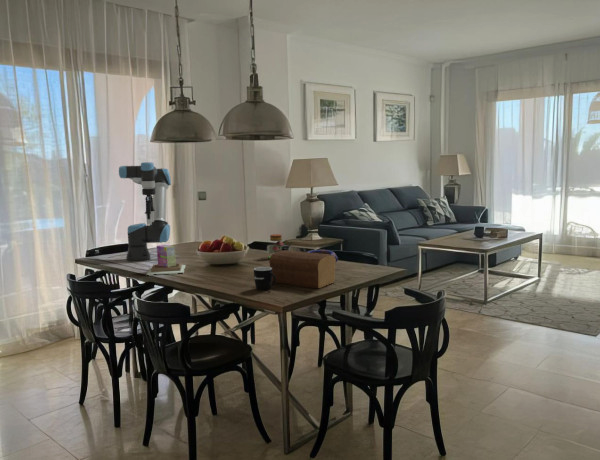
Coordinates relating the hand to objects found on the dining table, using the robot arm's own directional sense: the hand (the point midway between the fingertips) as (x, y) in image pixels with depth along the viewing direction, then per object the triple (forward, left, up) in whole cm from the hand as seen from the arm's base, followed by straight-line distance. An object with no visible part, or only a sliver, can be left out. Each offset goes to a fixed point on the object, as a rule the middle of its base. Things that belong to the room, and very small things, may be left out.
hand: (150, 223), depth 315 cm
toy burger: (-9, +78, -27) cm, 83 cm away
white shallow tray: (+17, +10, -26) cm, 33 cm away
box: (+17, +10, -24) cm, 31 cm away
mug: (+76, +62, -27) cm, 101 cm away
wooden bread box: (+66, +82, -27) cm, 108 cm away
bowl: (+34, +98, -27) cm, 107 cm away
